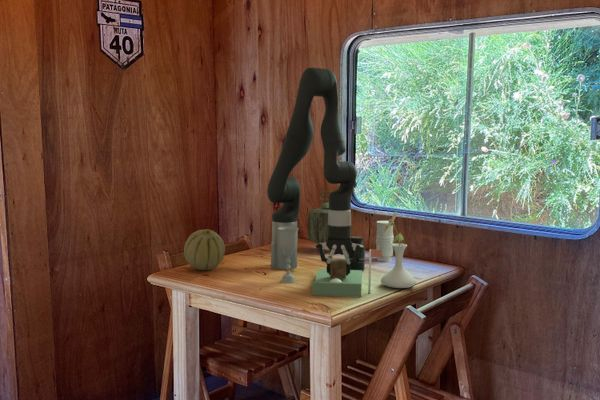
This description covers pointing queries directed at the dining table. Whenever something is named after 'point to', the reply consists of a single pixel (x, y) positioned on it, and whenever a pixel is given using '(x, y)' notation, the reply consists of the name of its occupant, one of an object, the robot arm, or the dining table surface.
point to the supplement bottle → (361, 254)
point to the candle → (384, 241)
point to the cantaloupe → (204, 249)
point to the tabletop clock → (319, 222)
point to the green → (337, 284)
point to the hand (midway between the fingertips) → (338, 274)
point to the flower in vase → (397, 264)
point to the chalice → (288, 249)
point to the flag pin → (371, 254)
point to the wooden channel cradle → (338, 268)
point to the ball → (335, 280)
